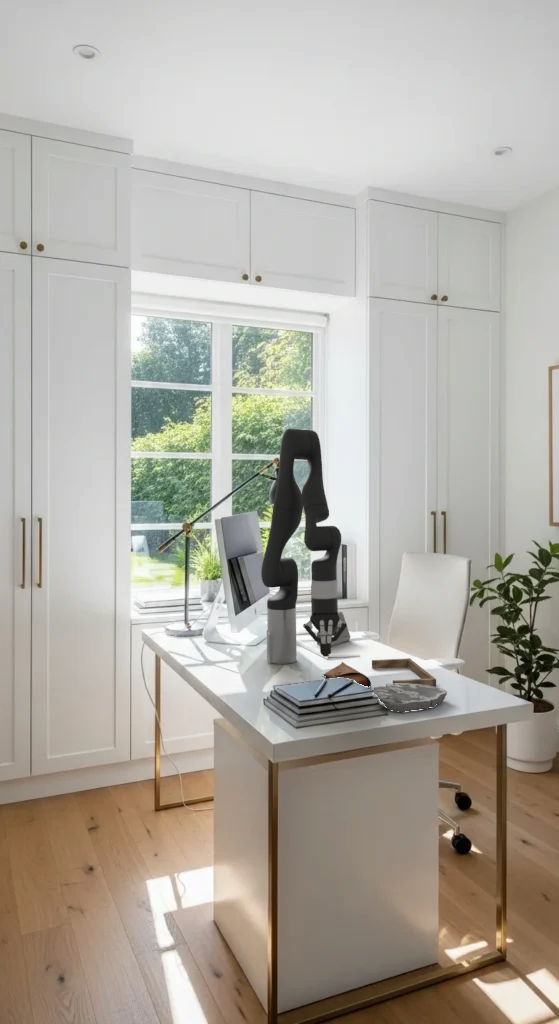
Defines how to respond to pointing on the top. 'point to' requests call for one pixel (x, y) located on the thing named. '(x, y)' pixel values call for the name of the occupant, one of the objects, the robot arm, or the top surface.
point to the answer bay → (401, 663)
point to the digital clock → (344, 636)
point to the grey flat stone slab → (409, 696)
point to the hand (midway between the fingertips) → (325, 655)
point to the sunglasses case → (348, 674)
